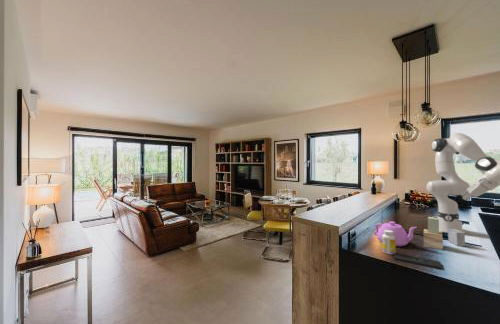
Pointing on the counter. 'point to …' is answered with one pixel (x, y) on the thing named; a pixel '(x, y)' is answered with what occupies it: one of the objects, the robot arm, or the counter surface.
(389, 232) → the supplement bottle
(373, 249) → the counter surface
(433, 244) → the tower base block
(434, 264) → the smart home device
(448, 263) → the counter surface
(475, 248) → the counter surface
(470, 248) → the counter surface
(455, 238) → the medicine box
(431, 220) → the sage block
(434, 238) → the tower top block
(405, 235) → the teapot
